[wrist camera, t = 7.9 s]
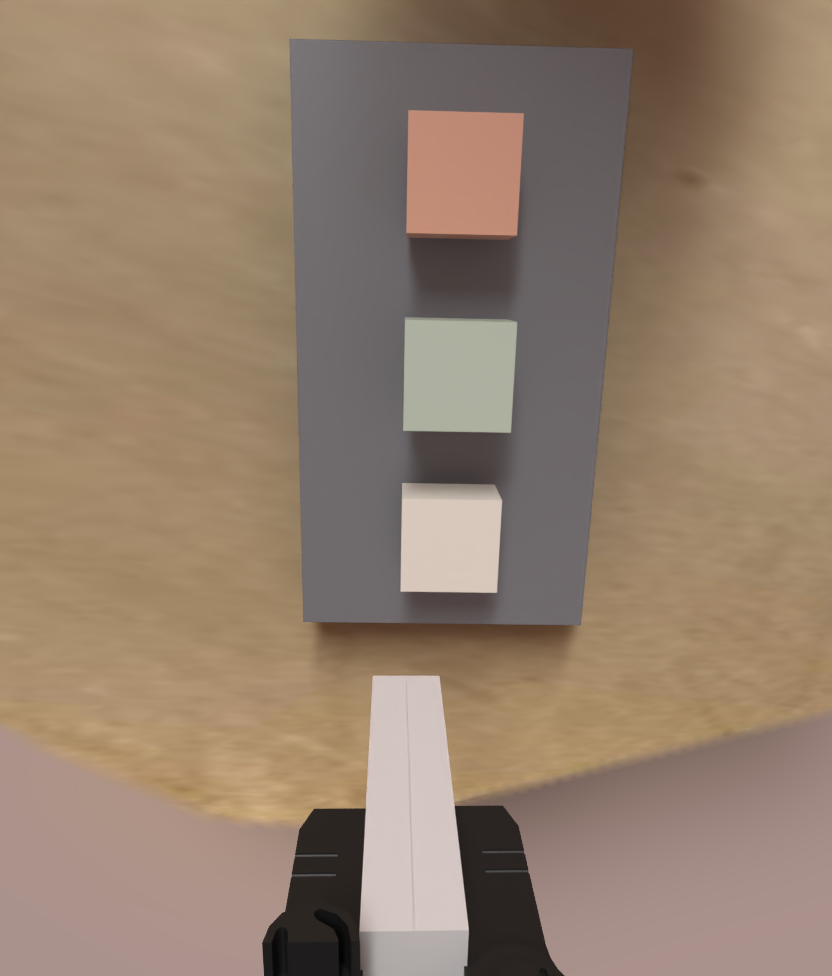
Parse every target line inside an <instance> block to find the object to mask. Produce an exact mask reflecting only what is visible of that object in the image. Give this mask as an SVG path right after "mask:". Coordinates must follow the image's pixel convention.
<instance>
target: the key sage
mask: <svg viewBox="0 0 832 976" xmlns="http://www.w3.org/2000/svg"><path fill="white" fill-rule="evenodd" d="M516 337H517V322H515V321H512V320H508V319H465V318H418V317H405V347H404V407H403V431H444V432H500V433H511V423H512V406H513V388H514V371H515V354H516Z"/></svg>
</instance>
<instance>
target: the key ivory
mask: <svg viewBox="0 0 832 976" xmlns="http://www.w3.org/2000/svg"><path fill="white" fill-rule="evenodd" d="M501 511H502V499H501V497H500V495H499V493H498V490H497V488H496V486H495V484H435V483H402V526H401V590H400V591H401V592H477V593H497V582H498V564H499V547H500V529H501Z"/></svg>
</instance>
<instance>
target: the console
mask: <svg viewBox="0 0 832 976" xmlns="http://www.w3.org/2000/svg"><path fill="white" fill-rule="evenodd" d="M633 51H634V49H622V48H588V47H554V46H520V45H485V44H451V43H417V42H383V41H348V40H314V39H290V78H291V120H292V162H293V205H294V247H295V289H296V331H297V373H298V415H299V457H300V500H301V542H302V584H303V622H353V623H435V624H517V625H581V616H582V605H583V594H584V583H585V572H586V561H587V551H588V540H589V529H590V518H591V507H592V496H593V485H594V474H595V464H596V453H597V442H598V431H599V420H600V409H601V398H602V388H603V377H604V366H605V355H606V344H607V333H608V322H609V311H610V301H611V290H612V279H613V268H614V257H615V246H616V235H617V225H618V214H619V203H620V192H621V181H622V170H623V159H624V149H625V138H626V127H627V116H628V105H629V94H630V83H631V72H632V62H633ZM408 110H420V111H457V112H494V113H524V120H523V138H522V156H521V174H520V191H519V209H518V227H517V236H515V237H513V238H511V239H509V240H489V239H446V238H406V223H407V163H408ZM405 317H418V318H465V319H508V320H512V321H515V322H517V337H516V354H515V371H514V388H513V406H512V423H511V433H500V432H444V431H403V407H404V347H405ZM402 483H435V484H495V486H496V488H497V490H498V493H499V495H500V497H501V499H502V511H501V529H500V547H499V564H498V582H497V593H477V592H401V591H400V590H401V526H402Z"/></svg>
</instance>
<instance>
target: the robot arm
mask: <svg viewBox="0 0 832 976" xmlns="http://www.w3.org/2000/svg"><path fill="white" fill-rule="evenodd" d="M262 944H263V963H264V976H564V975H563V974H562V973H561V972H560V971H559V970H558V969H557V967H556V966H555V964H554V963H553V961H552V960H551V958H550V955H549V953H548V950H547V947H546V944H545V940H544V935H543V932H542V927H541V922H540V918H539V914H538V909H537V905H536V901H535V896H534V892H533V888H532V883H531V879H530V874H529V873H528V866H527V861H526V857H525V854H524V848H523V844H522V840H521V835H520V831H519V827H518V825H517V824H516V822H515V821H514V820H513V819H512V817H511V816H510V815H509V814H508V812H507V811H506V809H505V808H504V807H503V806H454V798H453V789H452V781H451V772H450V763H449V755H448V746H447V738H446V729H445V720H444V712H443V703H442V695H441V686H440V677H439V676H373V684H372V703H371V722H370V741H369V760H368V779H367V798H366V809H314V810H313V811H312V813H311V814H310V816H309V817H308V818H307V820H306V821H305V823H304V824H303V825H302V827H301V828H300V830H299V835H298V841H297V847H296V853H295V859H294V864H293V871H292V878H291V882H290V888H289V893H288V899H287V905H286V911H285V912H284V913H282V914H281V915H280V916H279V917H278V918H277V919H276V920H275V921H274V922H273V923H272V924H271V925H270V926H269V928H268V931H267V933H266V936H265V938H264V940H263V943H262Z"/></svg>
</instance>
